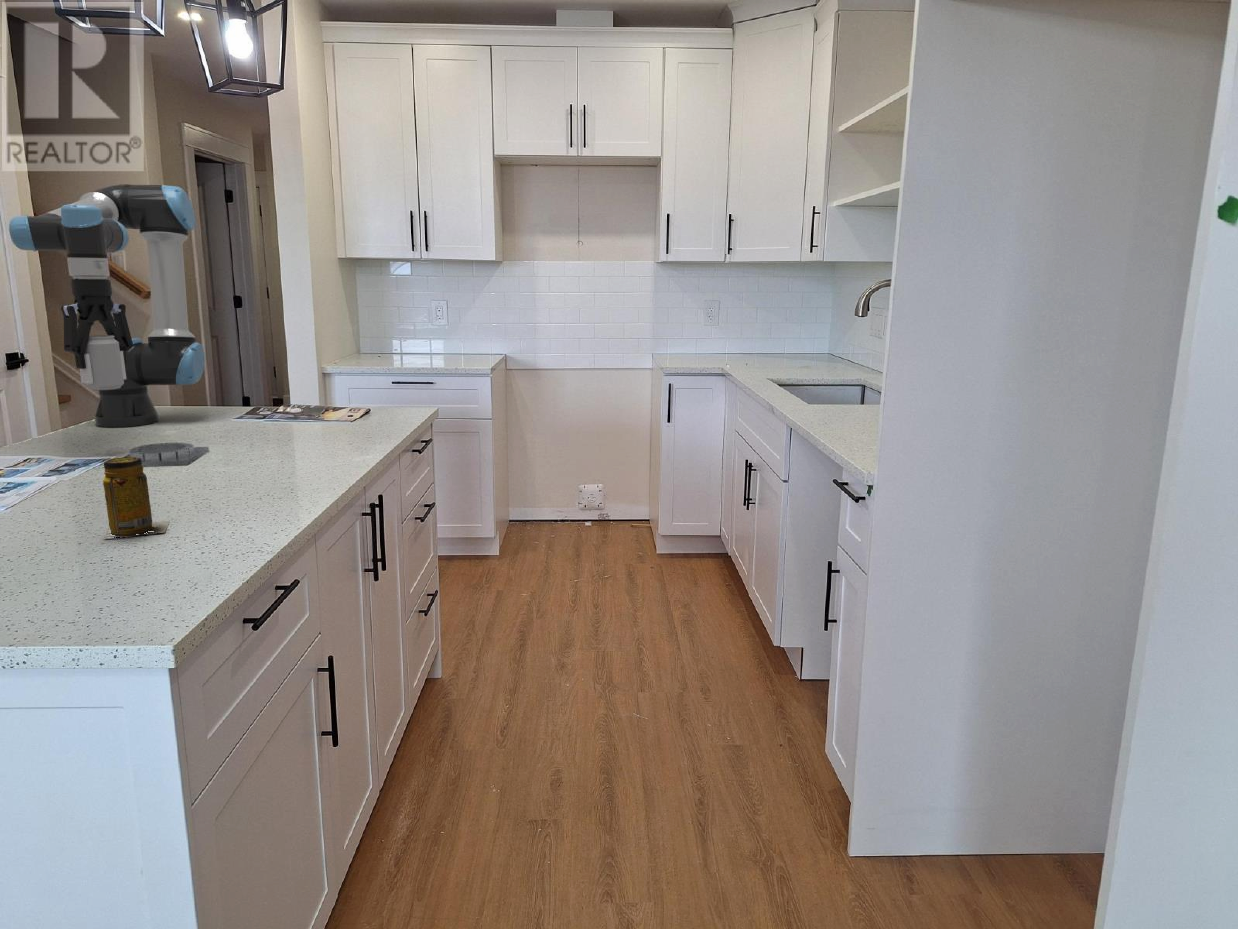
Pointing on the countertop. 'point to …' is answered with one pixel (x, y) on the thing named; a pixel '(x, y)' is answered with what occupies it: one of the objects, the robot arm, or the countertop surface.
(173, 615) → the countertop surface
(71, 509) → the countertop surface
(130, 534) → the condiment
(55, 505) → the countertop surface
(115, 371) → the can
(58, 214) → the robot arm
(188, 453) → the duct flange
